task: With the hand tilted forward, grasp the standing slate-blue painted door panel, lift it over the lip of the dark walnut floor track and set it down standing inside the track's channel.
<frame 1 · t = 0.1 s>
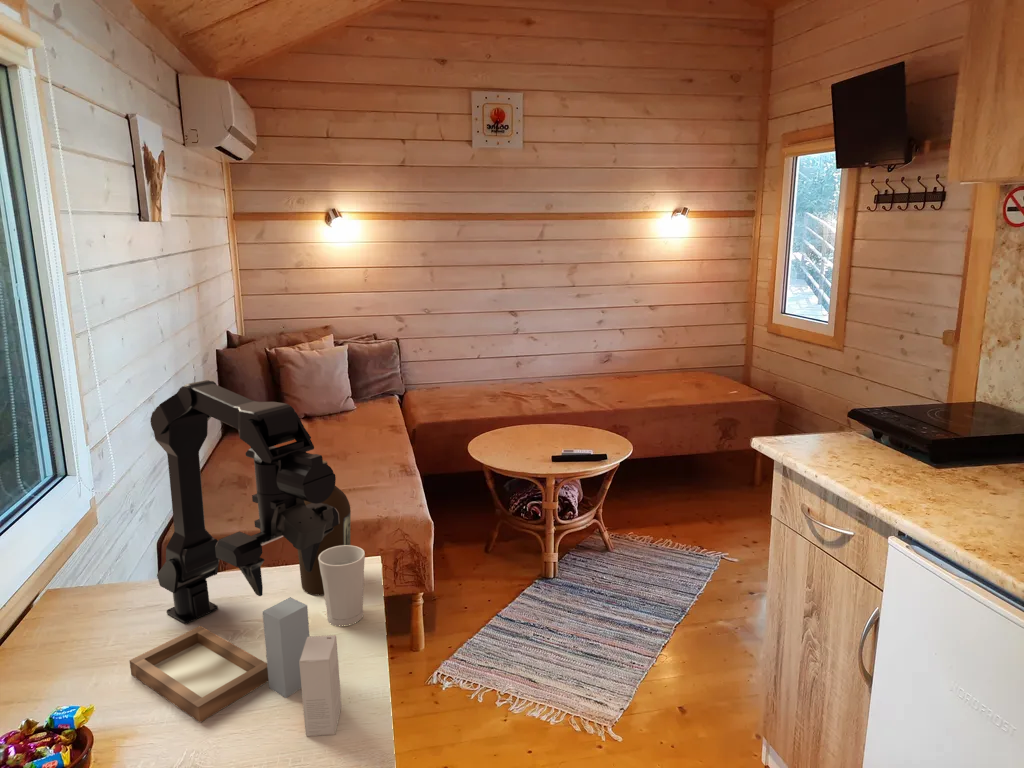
hand: (284, 582, 112), 15 cm above the table, tool pointing down, fingers open, 9 cm apart
cup: (345, 617, 130), on the table
olive oil: (327, 584, 141), on the table
track: (201, 676, 113), on the table
skincare box: (323, 723, 103), on the table
door panel: (291, 684, 111), on the table
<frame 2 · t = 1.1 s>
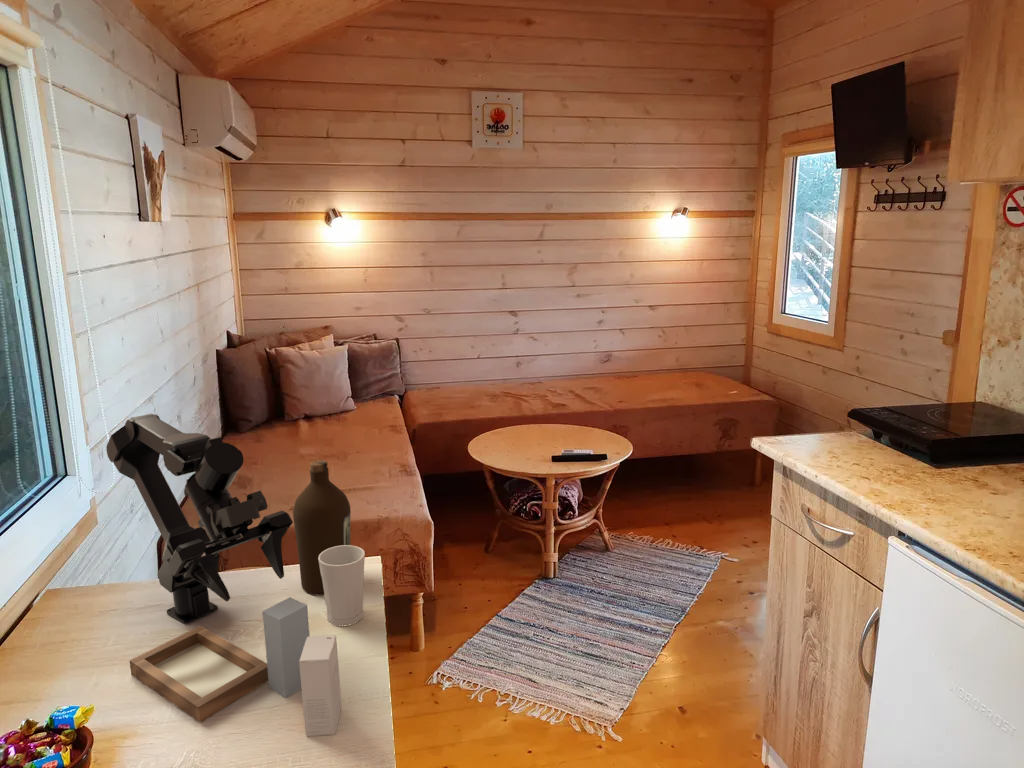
hand: (256, 588, 113), 13 cm above the table, tool tilted 45°, fingers open, 9 cm apart
nothing on the table moved.
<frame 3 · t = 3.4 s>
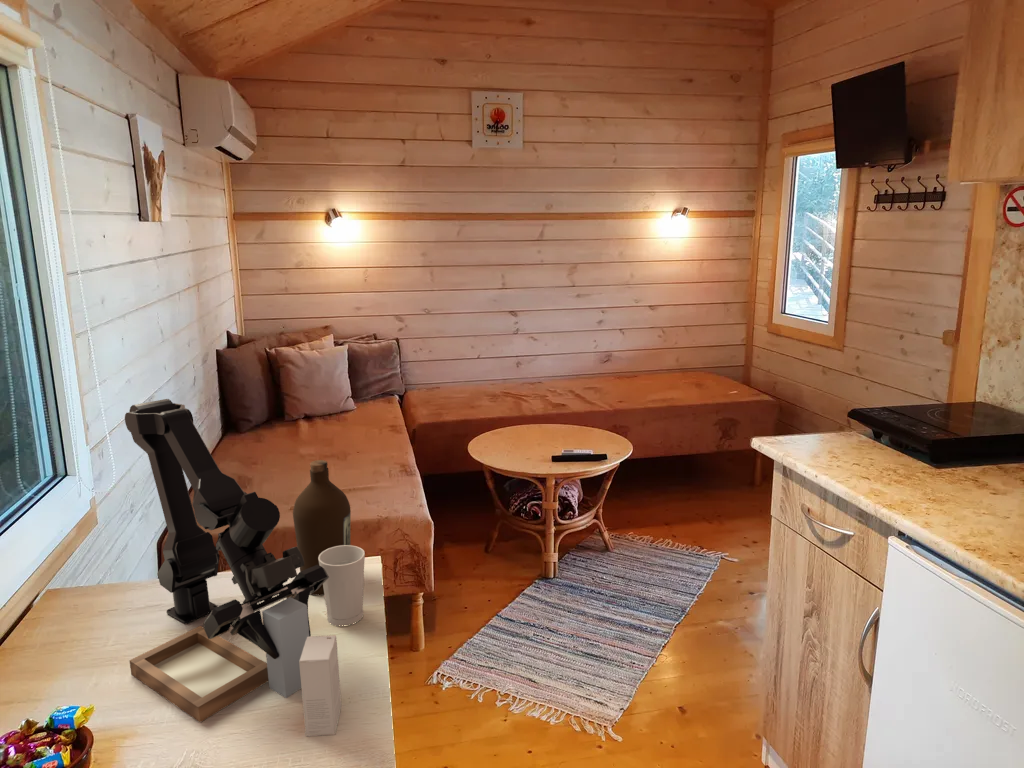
hand: (293, 649, 108), 7 cm above the table, tool tilted 45°, fingers closed on door panel, 5 cm apart
door panel: (291, 684, 111), on the table, touching gripper
everything else where it was.
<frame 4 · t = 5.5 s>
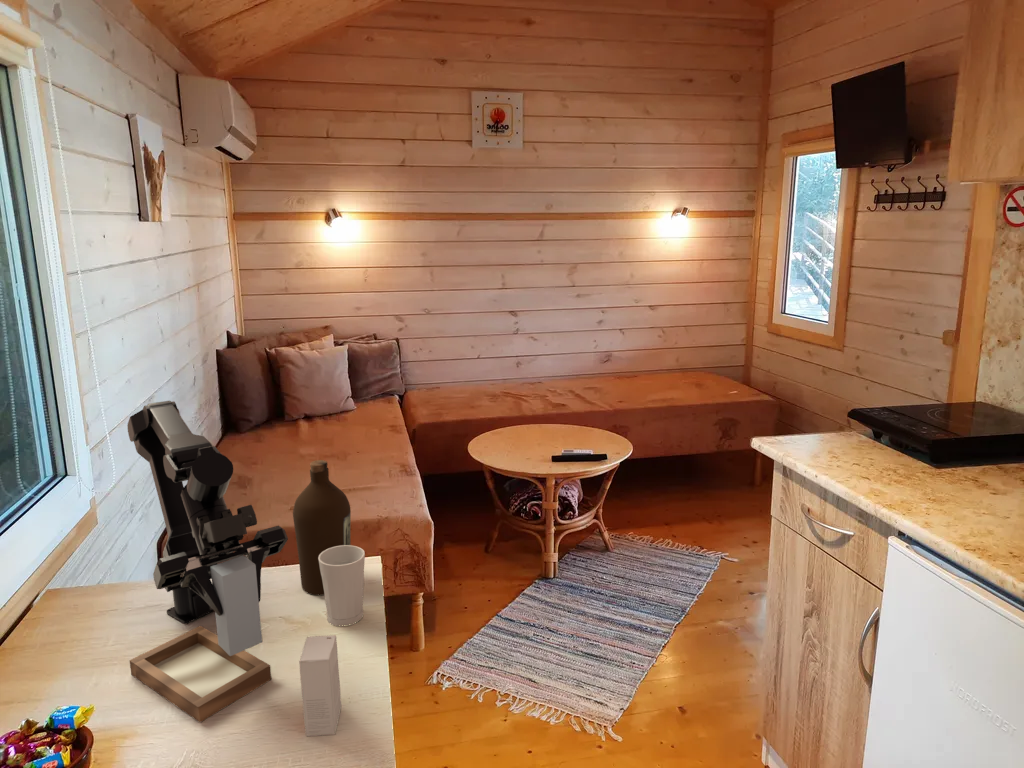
hand: (240, 608, 107), 14 cm above the table, tool tilted 45°, fingers closed on door panel, 5 cm apart
door panel: (240, 643, 109), point 7 cm above the table, touching gripper
everything else where it was.
when the fingers open (8 cm above the table, at t = 7.7 s): door panel stays where it is, resting on track.
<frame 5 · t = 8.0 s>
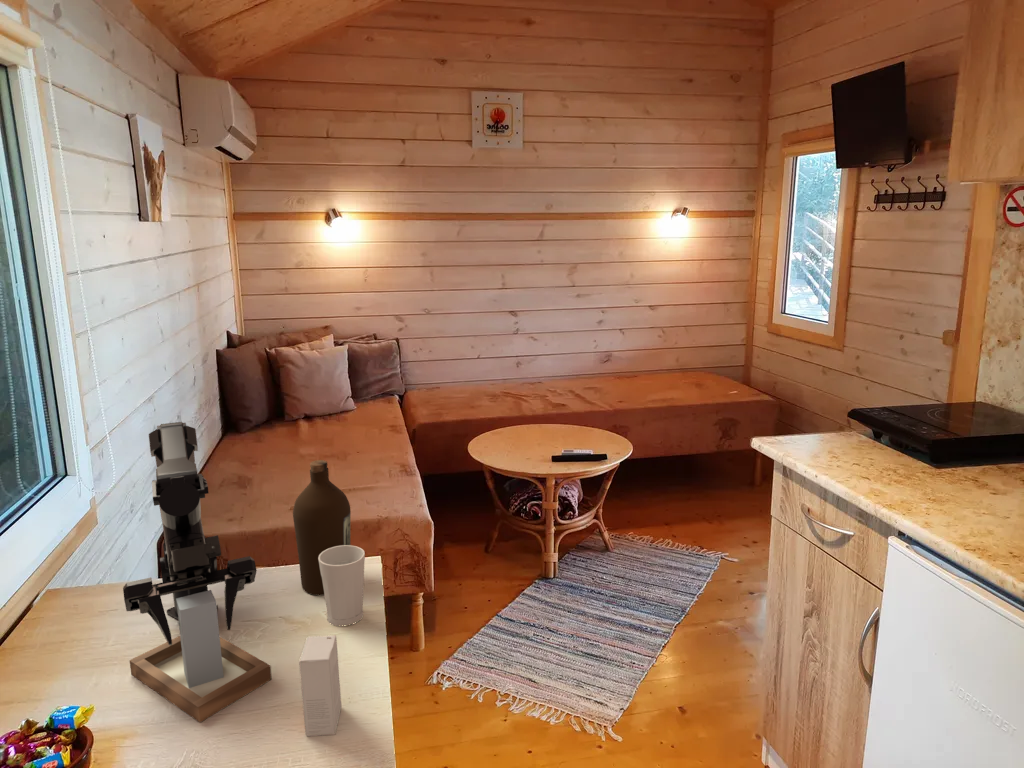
hand: (200, 636, 109), 8 cm above the table, tool tilted 45°, fingers open, 8 cm apart
door panel: (204, 675, 112), point 1 cm above the table, touching track
everything else where it was.
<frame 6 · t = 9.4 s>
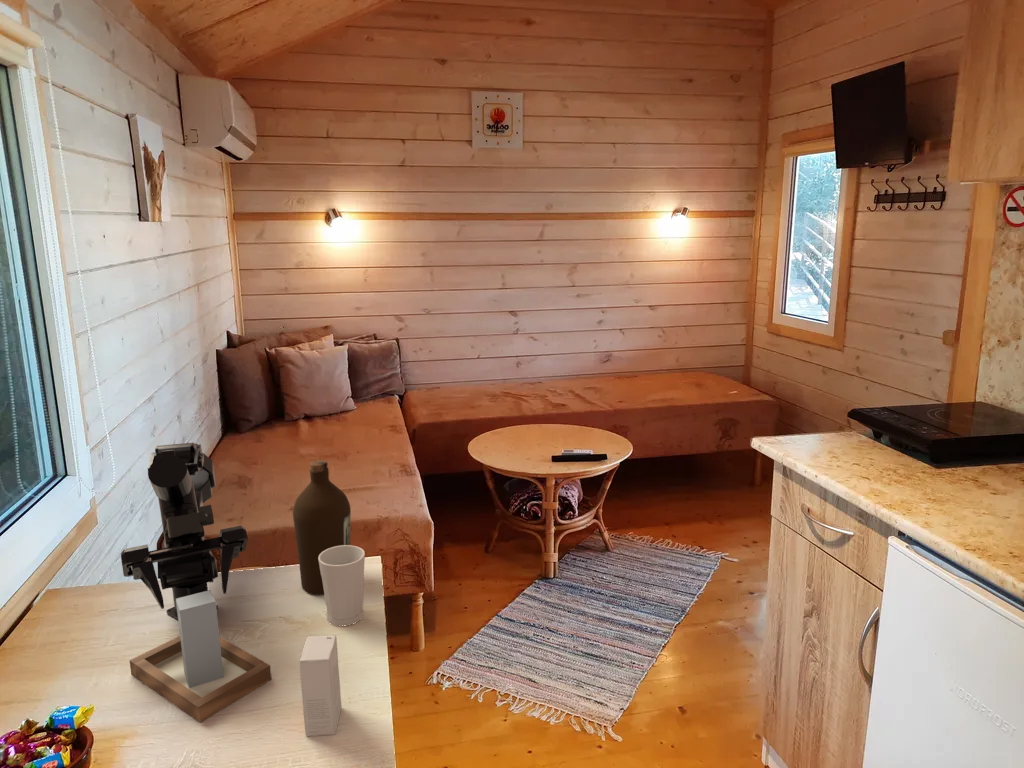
hand: (194, 600, 115), 10 cm above the table, tool tilted 45°, fingers open, 9 cm apart
nothing on the table moved.
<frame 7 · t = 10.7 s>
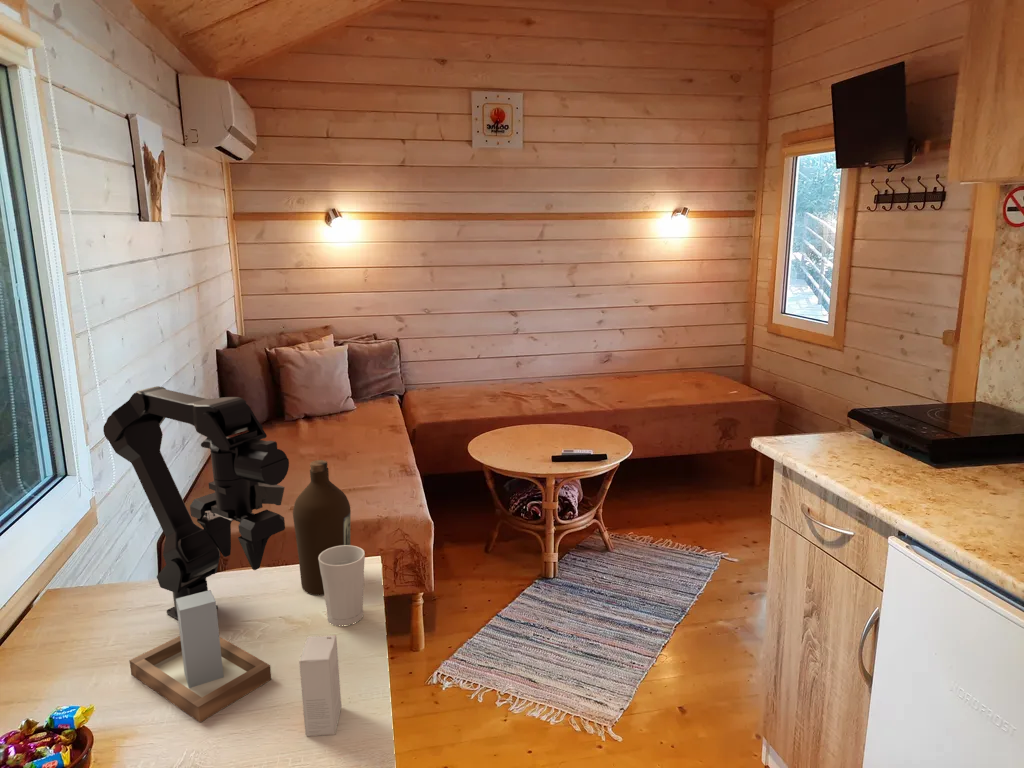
hand: (241, 562, 122), 13 cm above the table, tool pointing down, fingers open, 8 cm apart
nothing on the table moved.
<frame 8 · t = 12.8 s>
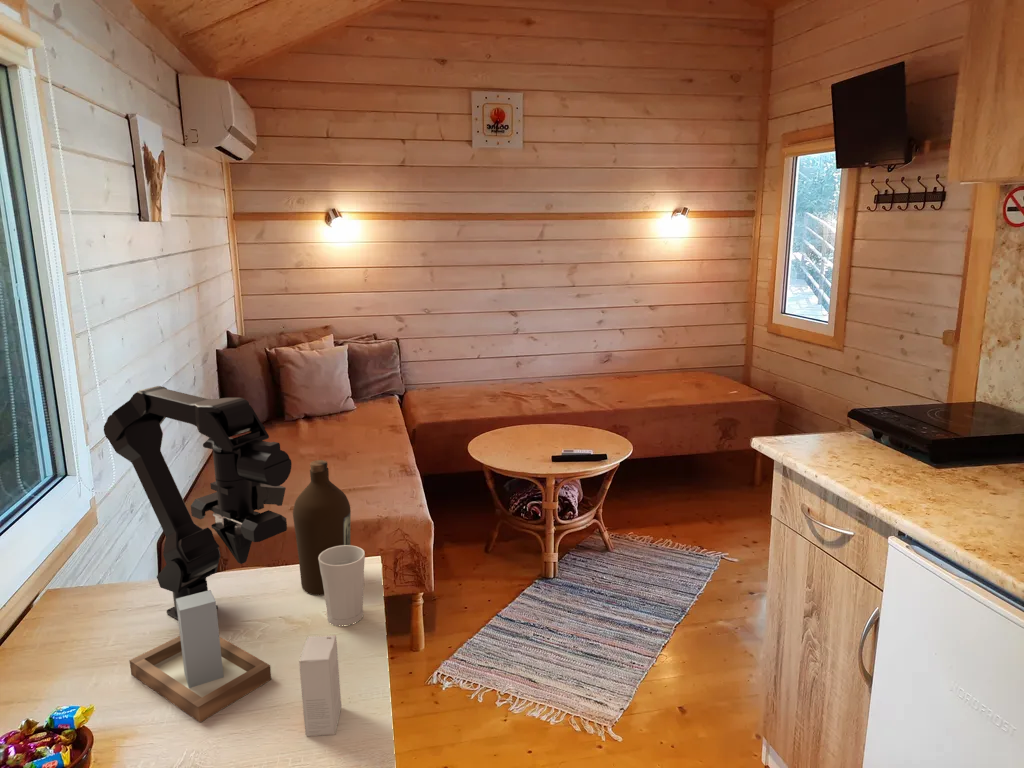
hand: (242, 562, 122), 13 cm above the table, tool pointing down, fingers closed
nothing on the table moved.
at the end: door panel inside the target area on the track (1.0 cm from its centre), point 0.6 cm above the track's base; door panel tilted 0°; the gripper is holding nothing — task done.
